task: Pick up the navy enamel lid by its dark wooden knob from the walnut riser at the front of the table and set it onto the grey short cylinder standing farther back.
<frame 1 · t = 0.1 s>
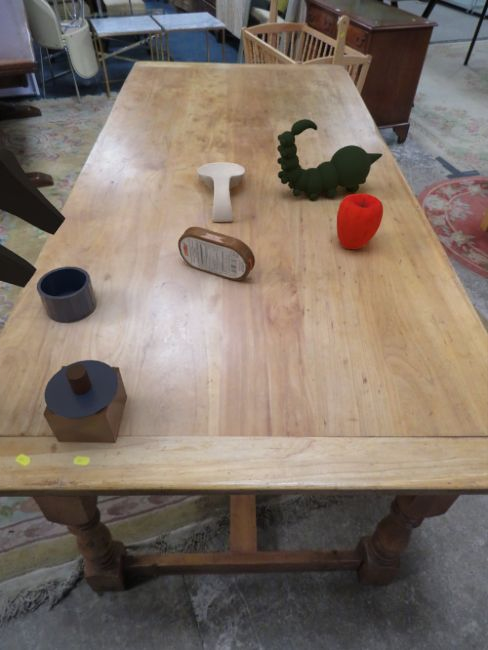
hand: (46, 250, 38), 29 cm above the table, tool tilted 50°, fingers open, 7 cm apart
spoon rest: (222, 197, 104), on the table
toy figurine: (324, 194, 107), on the table
tin lid: (82, 389, 55), point 6 cm above the table, touching riser
riser: (93, 417, 60), on the table
apple: (351, 246, 91), on the table
tin: (215, 272, 84), on the table
grey short cylinder: (71, 305, 76), on the table
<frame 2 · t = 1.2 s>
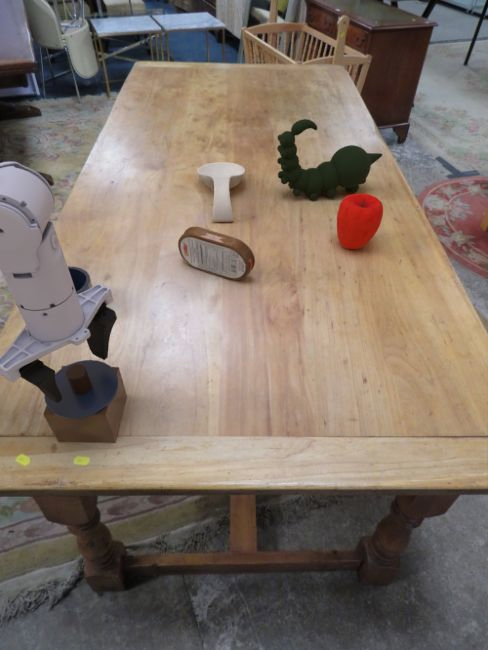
hand: (78, 375, 53), 9 cm above the table, tool pointing down, fingers open, 7 cm apart
nothing on the table moved.
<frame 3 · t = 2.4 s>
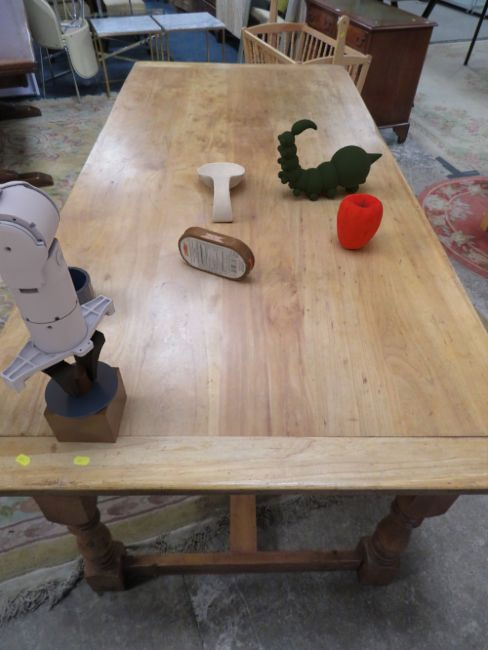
hand: (80, 384, 55), 8 cm above the table, tool pointing down, fingers closed on tin lid, 2 cm apart
tin lid: (82, 389, 55), point 7 cm above the table, touching gripper, riser
everything else where it was.
when the fingers open (6 cm above the table, at t = 6.3 s): tin lid stays where it is, resting on grey short cylinder.
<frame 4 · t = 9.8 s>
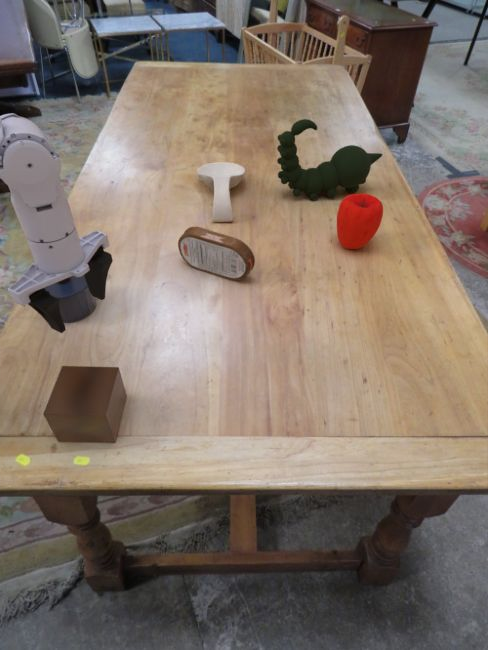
hand: (79, 312, 61), 9 cm above the table, tool pointing down, fingers open, 7 cm apart
tin lid: (63, 281, 72), point 5 cm above the table, touching grey short cylinder
everything else where it was.
at the end: tin lid 0.1 cm off-centre on the grey short cylinder, point 5.4 cm above the grey short cylinder's base; tin lid tilted 0° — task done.
